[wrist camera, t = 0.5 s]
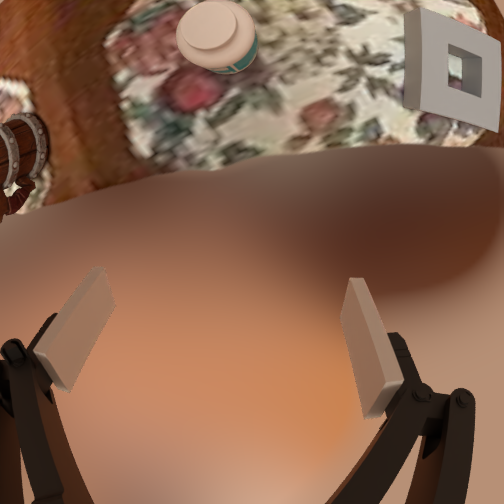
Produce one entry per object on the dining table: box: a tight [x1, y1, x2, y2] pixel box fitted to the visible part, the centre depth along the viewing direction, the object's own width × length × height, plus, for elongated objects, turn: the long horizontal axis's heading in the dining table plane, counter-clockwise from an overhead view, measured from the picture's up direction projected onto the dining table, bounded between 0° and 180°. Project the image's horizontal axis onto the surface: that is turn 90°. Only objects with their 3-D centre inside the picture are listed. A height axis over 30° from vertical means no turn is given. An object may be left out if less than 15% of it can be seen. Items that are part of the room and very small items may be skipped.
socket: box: [403, 7, 501, 133], centre depth 27 cm, size 14×14×5 cm
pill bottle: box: [176, 0, 258, 74], centre depth 25 cm, size 8×7×14 cm
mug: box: [0, 113, 49, 223], centre depth 31 cm, size 12×14×15 cm
